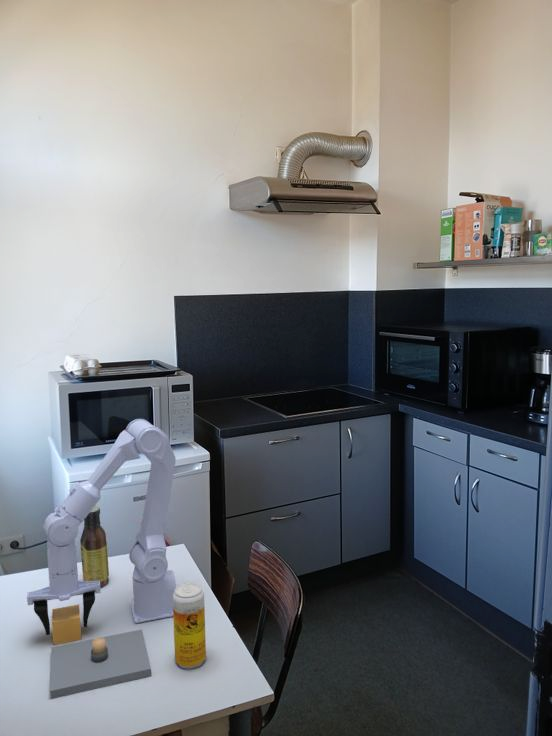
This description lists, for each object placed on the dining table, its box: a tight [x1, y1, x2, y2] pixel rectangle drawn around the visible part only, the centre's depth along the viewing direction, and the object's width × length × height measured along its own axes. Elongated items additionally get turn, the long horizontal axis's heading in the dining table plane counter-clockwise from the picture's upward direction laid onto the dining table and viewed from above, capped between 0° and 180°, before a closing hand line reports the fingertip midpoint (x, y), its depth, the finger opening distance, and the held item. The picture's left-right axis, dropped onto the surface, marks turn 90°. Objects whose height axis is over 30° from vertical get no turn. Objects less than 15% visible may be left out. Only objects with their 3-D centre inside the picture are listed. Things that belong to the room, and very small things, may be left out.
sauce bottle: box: [79, 505, 110, 588], centre depth 148 cm, size 6×6×20 cm
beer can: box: [172, 582, 207, 670], centre depth 117 cm, size 6×6×15 cm
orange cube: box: [51, 604, 82, 646], centre depth 127 cm, size 6×6×5 cm
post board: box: [49, 629, 152, 699], centre depth 117 cm, size 18×14×5 cm
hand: (66, 628), depth 127 cm, fingers open, 7 cm apart
